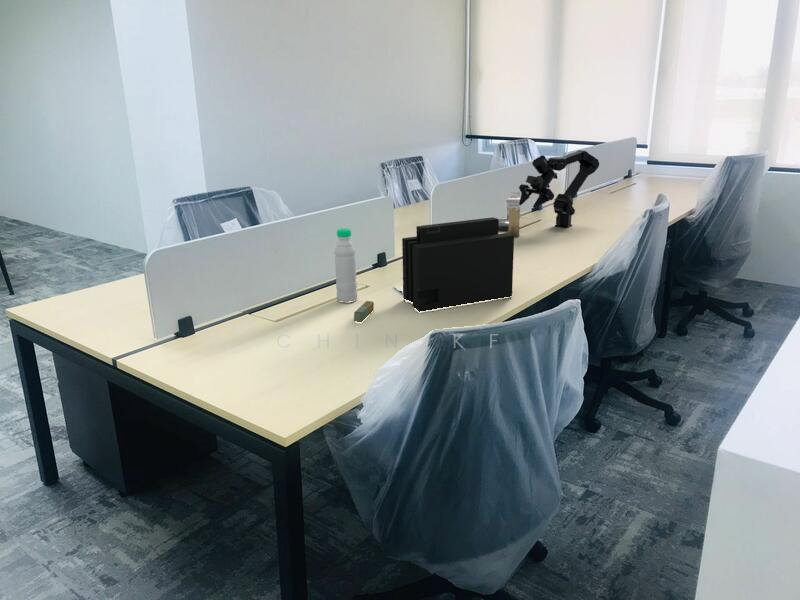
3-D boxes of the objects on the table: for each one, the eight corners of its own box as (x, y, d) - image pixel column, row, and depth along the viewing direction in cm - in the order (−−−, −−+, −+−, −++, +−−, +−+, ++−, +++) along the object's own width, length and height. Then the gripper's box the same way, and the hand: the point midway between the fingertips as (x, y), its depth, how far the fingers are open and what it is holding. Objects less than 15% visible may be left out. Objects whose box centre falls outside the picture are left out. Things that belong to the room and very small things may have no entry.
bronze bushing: (521, 236, 314) (522, 208, 310) (515, 238, 310) (516, 210, 306) (511, 234, 317) (512, 207, 313) (506, 236, 313) (506, 208, 309)
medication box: (361, 325, 208) (361, 313, 207) (353, 324, 209) (353, 312, 207) (373, 312, 219) (373, 300, 217) (366, 311, 219) (365, 300, 218)
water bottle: (337, 297, 233) (333, 227, 225) (357, 296, 233) (354, 226, 225) (336, 304, 226) (333, 232, 218) (357, 303, 227) (354, 231, 219)
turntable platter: (522, 223, 330) (523, 221, 330) (508, 228, 321) (508, 225, 321) (500, 220, 338) (500, 217, 338) (486, 225, 329) (486, 222, 329)
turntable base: (518, 227, 331) (518, 224, 330) (507, 231, 324) (507, 228, 323) (501, 225, 337) (501, 222, 336) (490, 228, 330) (490, 225, 329)
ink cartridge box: (503, 221, 345) (503, 193, 340) (502, 219, 349) (503, 191, 345) (519, 221, 344) (521, 193, 339) (519, 219, 349) (520, 191, 344)
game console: (419, 313, 216) (418, 232, 207) (384, 288, 242) (381, 215, 234) (511, 298, 229) (514, 221, 220) (468, 275, 255) (469, 206, 247)
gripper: (522, 167, 318) (504, 192, 316) (551, 171, 303) (532, 198, 301) (533, 182, 325) (515, 207, 323) (562, 186, 310) (544, 213, 308)
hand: (526, 206), depth 313 cm, fingers open, 9 cm apart
